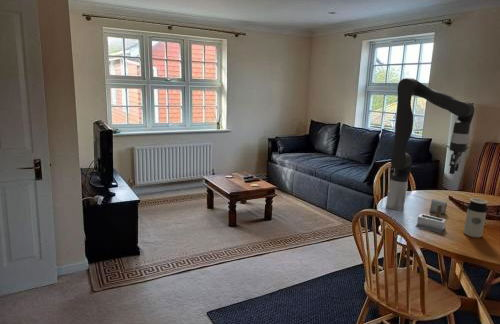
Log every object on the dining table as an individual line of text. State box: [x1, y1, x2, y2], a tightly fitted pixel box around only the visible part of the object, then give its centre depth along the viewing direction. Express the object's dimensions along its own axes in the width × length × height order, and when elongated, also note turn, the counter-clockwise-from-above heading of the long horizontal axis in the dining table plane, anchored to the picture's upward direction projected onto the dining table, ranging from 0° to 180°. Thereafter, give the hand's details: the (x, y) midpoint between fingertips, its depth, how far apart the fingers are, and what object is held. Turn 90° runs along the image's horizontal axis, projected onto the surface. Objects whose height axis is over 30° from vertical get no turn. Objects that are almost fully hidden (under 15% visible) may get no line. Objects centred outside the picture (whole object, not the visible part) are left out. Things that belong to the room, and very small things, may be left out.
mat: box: [415, 224, 443, 234], centre depth 189 cm, size 12×10×1 cm
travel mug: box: [463, 197, 489, 238], centre depth 179 cm, size 8×8×18 cm
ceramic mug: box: [429, 198, 448, 215], centre depth 211 cm, size 11×8×8 cm
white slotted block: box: [416, 213, 447, 232], centre depth 188 cm, size 12×6×4 cm, turn 52°
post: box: [435, 205, 442, 218], centre depth 197 cm, size 2×2×9 cm
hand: (453, 172), depth 190 cm, fingers open, 8 cm apart
